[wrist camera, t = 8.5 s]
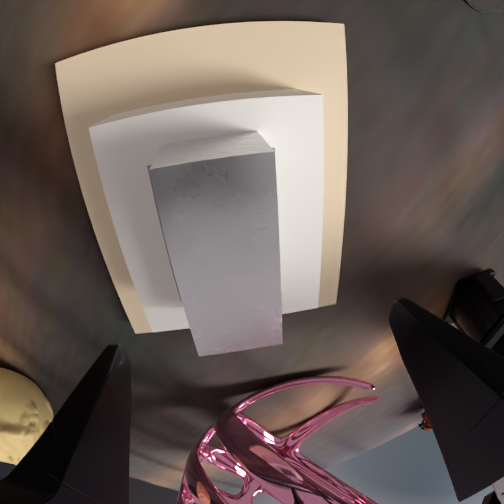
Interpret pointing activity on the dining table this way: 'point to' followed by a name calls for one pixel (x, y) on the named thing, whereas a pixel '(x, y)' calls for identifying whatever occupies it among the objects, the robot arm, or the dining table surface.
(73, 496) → the robot arm
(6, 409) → the sculpture
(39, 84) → the dining table surface
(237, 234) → the grey wooden block
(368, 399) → the pink openwork sphere
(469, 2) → the beer glass
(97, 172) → the cream square frame
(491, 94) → the dining table surface
